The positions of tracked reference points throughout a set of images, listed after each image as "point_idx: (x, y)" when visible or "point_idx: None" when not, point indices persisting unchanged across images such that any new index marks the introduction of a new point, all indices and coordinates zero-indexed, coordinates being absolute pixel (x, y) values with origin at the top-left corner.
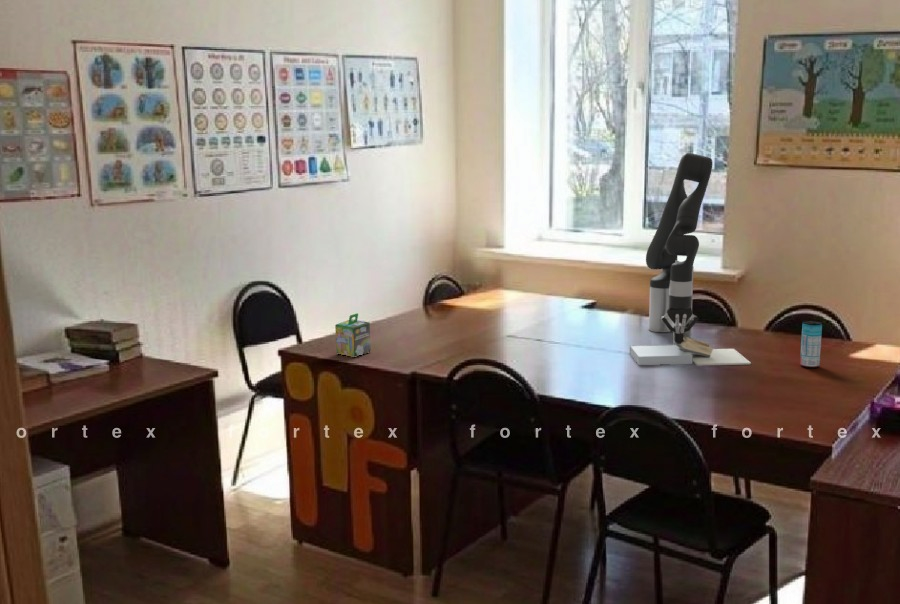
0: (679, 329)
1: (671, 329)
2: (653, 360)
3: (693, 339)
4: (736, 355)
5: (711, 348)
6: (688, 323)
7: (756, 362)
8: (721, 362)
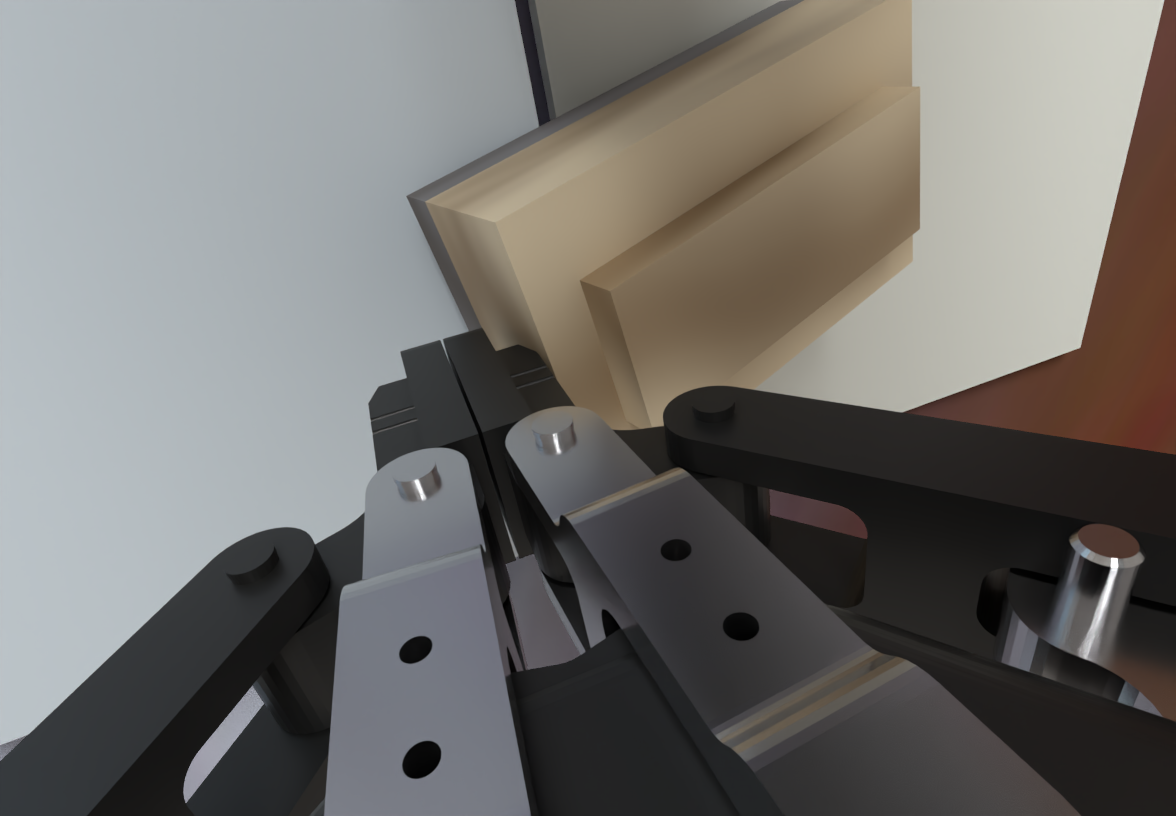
0: (531, 498)
1: (316, 733)
2: None
3: (745, 268)
4: (1095, 94)
5: (897, 272)
6: (860, 512)
7: (1135, 266)
8: (859, 405)
